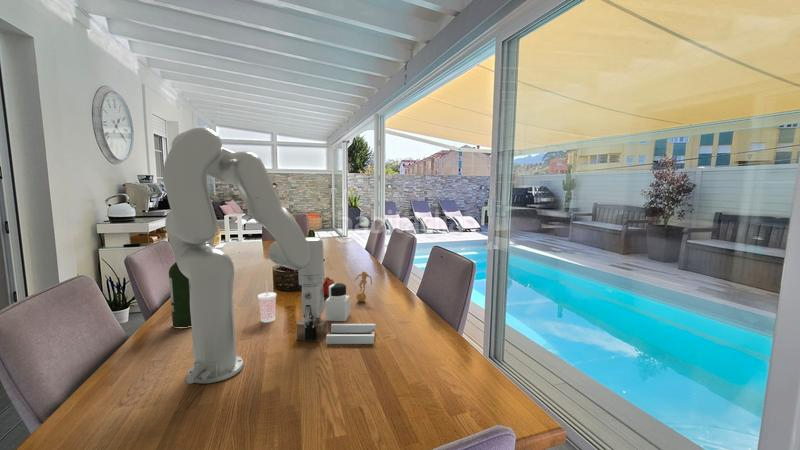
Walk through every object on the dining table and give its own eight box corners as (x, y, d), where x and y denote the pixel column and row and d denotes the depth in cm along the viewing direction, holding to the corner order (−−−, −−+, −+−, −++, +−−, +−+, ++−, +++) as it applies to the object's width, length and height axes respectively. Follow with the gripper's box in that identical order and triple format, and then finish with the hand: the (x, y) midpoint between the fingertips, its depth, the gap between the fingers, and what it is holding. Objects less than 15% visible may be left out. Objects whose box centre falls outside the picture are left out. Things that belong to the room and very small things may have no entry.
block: (322, 341, 108) (321, 325, 107) (296, 339, 109) (296, 324, 109) (327, 334, 113) (327, 319, 112) (303, 332, 114) (303, 317, 114)
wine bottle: (175, 321, 123) (169, 235, 120) (201, 318, 126) (196, 234, 122) (170, 330, 116) (163, 239, 112) (198, 327, 118) (191, 237, 115)
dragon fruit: (310, 302, 148) (333, 299, 157) (321, 293, 144) (344, 290, 153) (304, 283, 152) (327, 281, 161) (315, 274, 147) (338, 272, 156)
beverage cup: (255, 322, 123) (253, 282, 121) (265, 315, 129) (264, 277, 127) (270, 324, 121) (269, 283, 120) (281, 317, 127) (279, 278, 126)
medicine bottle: (350, 314, 130) (349, 282, 129) (345, 321, 123) (344, 287, 122) (331, 313, 131) (330, 281, 130) (325, 321, 124) (324, 287, 122)
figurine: (349, 301, 144) (349, 272, 143) (358, 297, 150) (357, 269, 148) (367, 304, 141) (367, 274, 139) (375, 300, 146) (375, 271, 144)
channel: (373, 343, 106) (373, 335, 106) (326, 343, 106) (326, 335, 106) (375, 331, 115) (375, 323, 115) (331, 331, 115) (331, 323, 115)
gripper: (317, 286, 100) (319, 347, 102) (329, 271, 117) (330, 323, 119) (290, 286, 100) (293, 348, 102) (306, 271, 117) (308, 324, 119)
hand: (313, 334), depth 111 cm, fingers open, 6 cm apart
